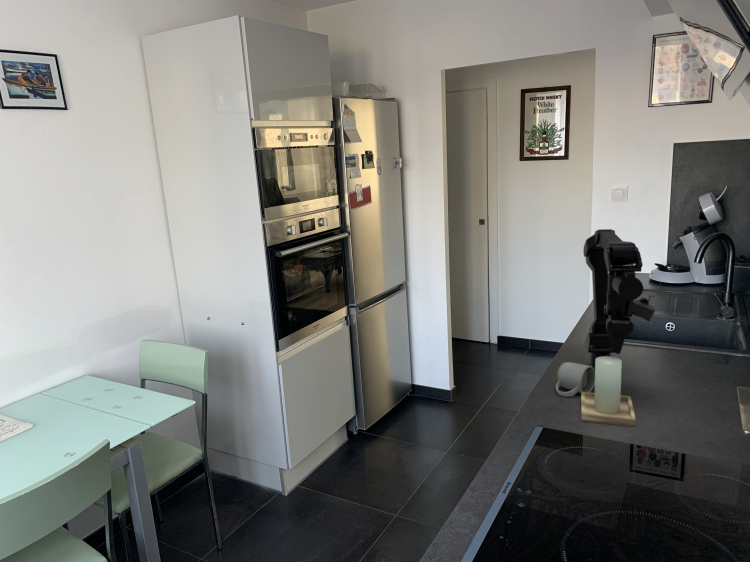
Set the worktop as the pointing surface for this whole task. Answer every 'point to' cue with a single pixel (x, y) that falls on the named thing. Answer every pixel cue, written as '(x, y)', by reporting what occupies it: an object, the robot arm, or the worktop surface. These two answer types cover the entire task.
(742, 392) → the worktop surface
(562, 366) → the ceramic mug
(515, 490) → the worktop surface
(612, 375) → the pillar candle
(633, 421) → the tray
